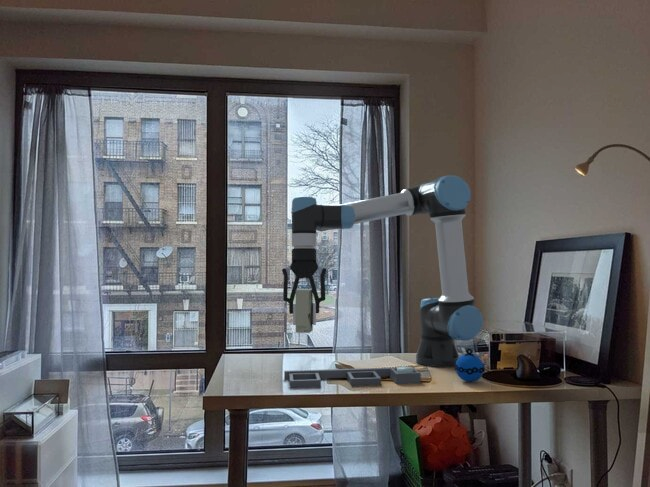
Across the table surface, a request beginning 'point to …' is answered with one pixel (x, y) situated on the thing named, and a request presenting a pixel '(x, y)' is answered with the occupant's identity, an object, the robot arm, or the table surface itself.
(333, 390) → the table surface
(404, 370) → the release button
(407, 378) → the button collar
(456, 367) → the ornament
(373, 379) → the panel
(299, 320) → the box
